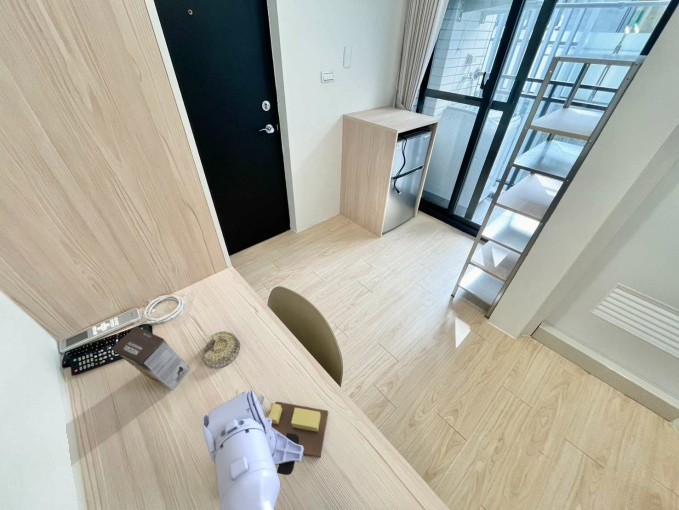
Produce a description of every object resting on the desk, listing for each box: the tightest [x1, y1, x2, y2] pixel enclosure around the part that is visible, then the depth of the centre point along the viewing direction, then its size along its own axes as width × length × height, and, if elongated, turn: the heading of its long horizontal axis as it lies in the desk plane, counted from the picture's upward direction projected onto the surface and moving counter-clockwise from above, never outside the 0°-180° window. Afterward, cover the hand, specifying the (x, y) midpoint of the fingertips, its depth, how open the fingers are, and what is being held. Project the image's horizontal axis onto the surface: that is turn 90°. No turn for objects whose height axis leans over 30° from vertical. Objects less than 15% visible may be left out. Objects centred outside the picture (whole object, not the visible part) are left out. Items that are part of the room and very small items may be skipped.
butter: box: [291, 408, 321, 432], centre depth 61 cm, size 3×6×3 cm, turn 81°
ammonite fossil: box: [202, 330, 241, 369], centre depth 74 cm, size 10×10×5 cm
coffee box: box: [111, 326, 191, 391], centre depth 66 cm, size 9×6×16 cm
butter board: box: [271, 401, 329, 458], centre depth 62 cm, size 9×13×1 cm
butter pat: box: [268, 403, 282, 424], centre depth 62 cm, size 3×2×3 cm, turn 171°
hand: (268, 455), depth 50 cm, fingers open, 7 cm apart
